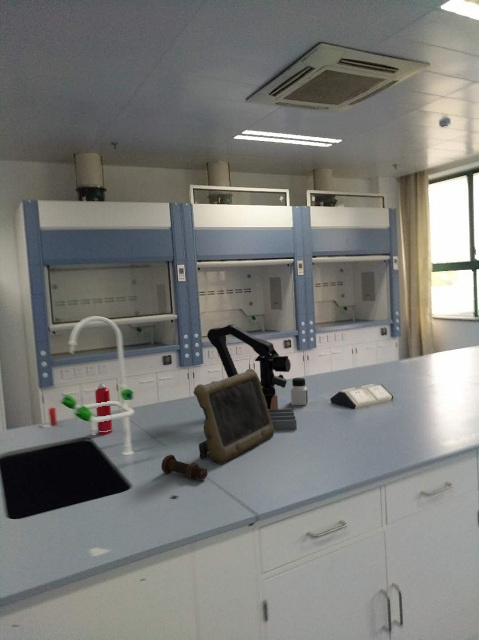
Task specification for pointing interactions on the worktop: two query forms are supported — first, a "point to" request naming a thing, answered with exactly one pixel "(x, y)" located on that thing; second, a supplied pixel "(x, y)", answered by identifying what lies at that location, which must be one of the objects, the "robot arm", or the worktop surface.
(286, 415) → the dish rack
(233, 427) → the tablet
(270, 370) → the robot arm
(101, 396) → the bottle
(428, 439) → the worktop surface
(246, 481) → the worktop surface
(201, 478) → the bolt
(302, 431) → the worktop surface
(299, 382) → the medicine bottle
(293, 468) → the worktop surface
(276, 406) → the tall tan upright block
